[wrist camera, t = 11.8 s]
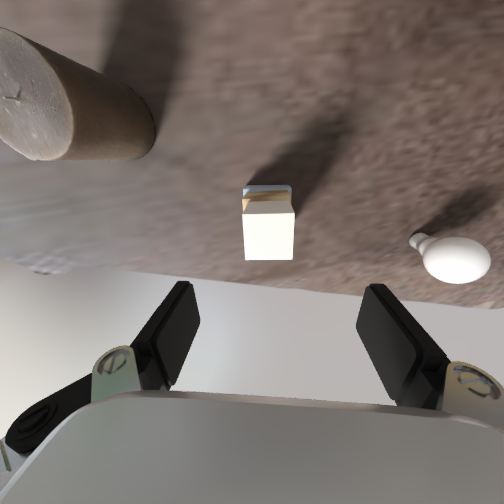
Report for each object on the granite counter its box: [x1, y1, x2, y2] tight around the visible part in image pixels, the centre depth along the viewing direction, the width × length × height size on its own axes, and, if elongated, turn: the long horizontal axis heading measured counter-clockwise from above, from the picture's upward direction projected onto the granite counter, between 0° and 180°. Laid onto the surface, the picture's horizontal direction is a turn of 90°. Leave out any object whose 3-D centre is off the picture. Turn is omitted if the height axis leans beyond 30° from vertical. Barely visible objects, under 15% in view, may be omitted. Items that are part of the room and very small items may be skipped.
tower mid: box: [242, 189, 291, 211], centre depth 27 cm, size 6×6×5 cm
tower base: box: [243, 185, 292, 196], centre depth 32 cm, size 7×7×4 cm
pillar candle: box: [0, 27, 155, 160], centre depth 23 cm, size 10×10×15 cm
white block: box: [242, 200, 295, 260], centre depth 22 cm, size 5×5×6 cm
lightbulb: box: [409, 233, 491, 284], centre depth 29 cm, size 6×6×11 cm
